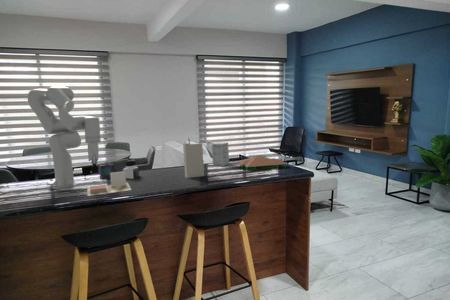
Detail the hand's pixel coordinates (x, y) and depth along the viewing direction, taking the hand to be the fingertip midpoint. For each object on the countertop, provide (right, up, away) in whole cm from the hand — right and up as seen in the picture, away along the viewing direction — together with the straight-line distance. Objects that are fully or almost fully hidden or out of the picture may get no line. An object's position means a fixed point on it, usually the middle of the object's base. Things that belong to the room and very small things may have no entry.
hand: (95, 172), depth 165 cm
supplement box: (+69, +1, +64) cm, 94 cm away
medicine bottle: (+11, -6, +29) cm, 31 cm away
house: (+98, 0, +53) cm, 111 cm away
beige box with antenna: (+52, -5, +30) cm, 60 cm away
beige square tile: (+11, -8, +7) cm, 15 cm away
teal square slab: (+1, -8, +2) cm, 9 cm away
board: (+7, -10, +2) cm, 13 cm away
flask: (-5, -6, +32) cm, 33 cm away
